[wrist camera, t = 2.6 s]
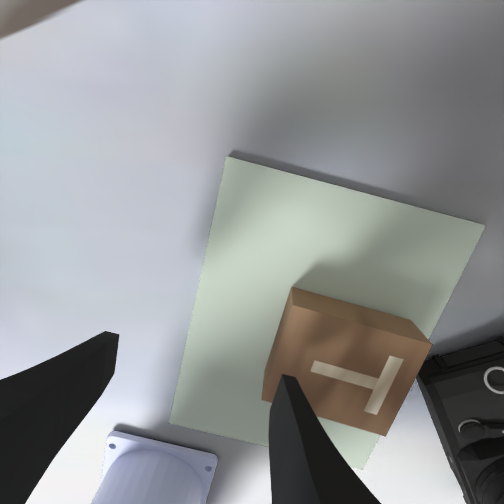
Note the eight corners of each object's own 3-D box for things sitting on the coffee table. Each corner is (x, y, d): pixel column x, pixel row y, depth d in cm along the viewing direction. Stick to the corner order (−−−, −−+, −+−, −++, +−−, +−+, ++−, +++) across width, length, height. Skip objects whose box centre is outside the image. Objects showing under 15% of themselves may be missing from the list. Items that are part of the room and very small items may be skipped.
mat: (361, 463, 20) (362, 469, 20) (170, 418, 20) (168, 423, 19) (480, 223, 15) (486, 225, 15) (227, 156, 15) (226, 155, 14)
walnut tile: (264, 371, 18) (372, 402, 18) (261, 400, 16) (385, 436, 15) (291, 286, 16) (411, 320, 16) (292, 305, 14) (432, 344, 14)
